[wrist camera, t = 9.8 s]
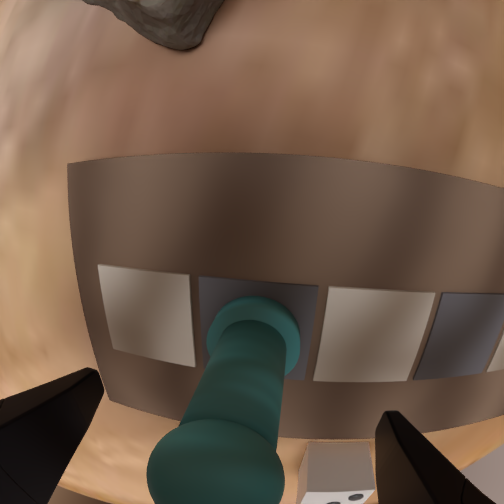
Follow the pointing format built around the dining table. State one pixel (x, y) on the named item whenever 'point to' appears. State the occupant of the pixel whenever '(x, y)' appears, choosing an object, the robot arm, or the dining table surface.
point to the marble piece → (165, 19)
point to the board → (296, 282)
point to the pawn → (232, 413)
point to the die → (335, 473)
